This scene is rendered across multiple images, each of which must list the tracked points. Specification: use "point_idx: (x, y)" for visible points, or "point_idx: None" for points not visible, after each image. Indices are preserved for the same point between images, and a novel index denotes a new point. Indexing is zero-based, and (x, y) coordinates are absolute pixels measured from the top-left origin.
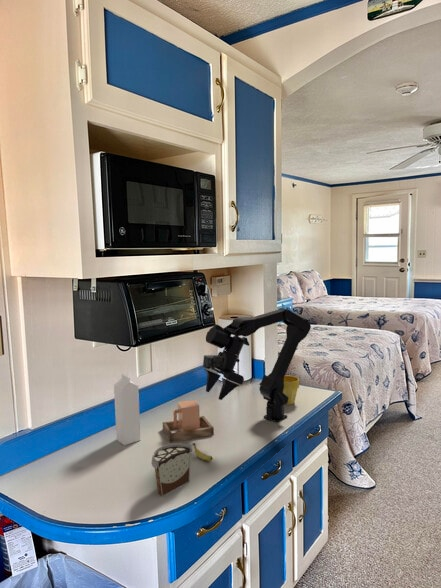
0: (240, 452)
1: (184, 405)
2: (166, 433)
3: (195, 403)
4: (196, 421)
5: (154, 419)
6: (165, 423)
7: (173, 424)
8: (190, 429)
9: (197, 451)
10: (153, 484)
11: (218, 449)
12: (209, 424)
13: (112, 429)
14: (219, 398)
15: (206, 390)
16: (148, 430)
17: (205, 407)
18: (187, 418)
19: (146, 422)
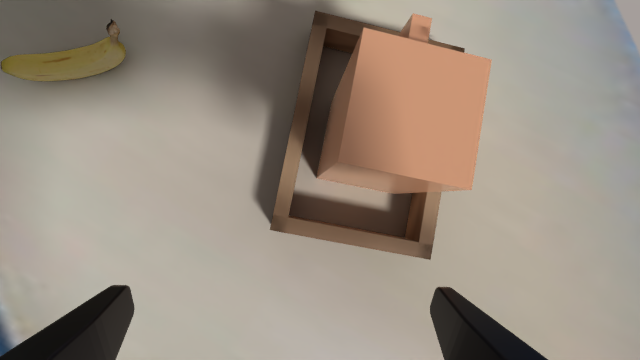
0: (38, 236)
1: (403, 68)
2: None
3: (396, 159)
4: (326, 154)
5: (560, 81)
6: None
7: None
8: (328, 129)
9: (99, 45)
10: None
11: (126, 168)
12: (317, 231)
13: None
14: (104, 293)
15: (443, 292)
16: (467, 11)
17: (576, 349)
18: (340, 96)
19: (547, 39)
